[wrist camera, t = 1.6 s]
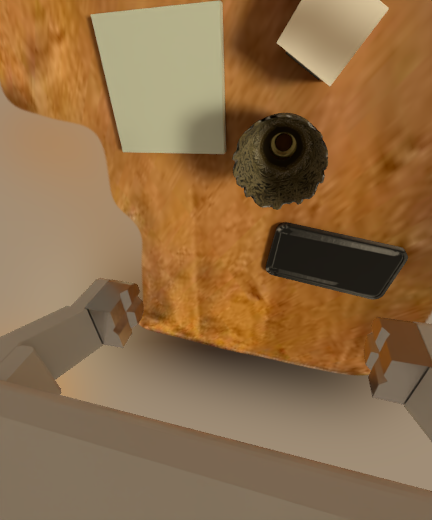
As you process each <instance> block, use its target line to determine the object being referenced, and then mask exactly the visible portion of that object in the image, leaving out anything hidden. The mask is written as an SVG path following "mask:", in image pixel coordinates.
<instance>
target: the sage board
mask: <svg viewBox="0 0 432 520" xmlns="http://www.w3.org/2000/svg"><path fill="white" fill-rule="evenodd" d="M91 18H92V23H93V27H94V31H95V35H96V40H97V44H98V48H99V52H100V57H101V61H102V65H103V69H104V74H105V78H106V82H107V86H108V91H109V95H110V99H111V103H112V108H113V112H114V116H115V120H116V125H117V129H118V133H119V137H120V142H121V146H122V150H123V152H144V153H192V154H225V153H226V123H225V84H224V46H223V7H222V2H221V1H211V2H202V3H193V4H183V5H174V6H165V7H155V8H146V9H137V10H128V11H118V12H109V13H100V14H91Z"/></svg>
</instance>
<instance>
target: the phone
mask: <svg viewBox="0 0 432 520" xmlns="http://www.w3.org/2000/svg"><path fill="white" fill-rule="evenodd" d="M407 259H408V256H407V254H406V252H405V250H404V249H403V248H401V247H397V246H393V245H388V244H384V243H379V242H374V241H370V240H365V239H361V238H356V237H352V236H347V235H343V234H338V233H333V232H329V231H324V230H320V229H315V228H311V227H306V226H301V225H297V224H292V223H287V222H285V223H281V224H279V225H278V227H277V229H276V232H275V236H274V239H273V243H272V246H271V250H270V253H269V257H268V260H267V264H266V271H267V272H268V273H269V274H271V275H274V276H278V277H282V278H286V279H291V280H295V281H299V282H303V283H307V284H311V285H315V286H319V287H323V288H327V289H332V290H336V291H340V292H344V293H348V294H352V295H356V296H360V297H364V298H368V299H378V298H380V297H382V296H383V295H384V294H385V292H386V291H387V289H388V288H389V286H390V285H391V283H392V282H393V280H394V279H395V277H396V276H397V274H398V273H399V272H400V270H401V269H402V267H403V266H404V264H405V263H406V261H407Z"/></svg>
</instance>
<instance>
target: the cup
mask: <svg viewBox="0 0 432 520" xmlns="http://www.w3.org/2000/svg"><path fill="white" fill-rule="evenodd" d="M281 134H287V135H289V136H290V137H291V139H292V145H291V147H290V148H289V149H288V150H286V151H281V150H279V149H278V148H277V147H276V139H277V137H278V136H279V135H281ZM322 137H323V136H322V134H321V133H320V132H319V131H318V130H317V129H316V128H315V127H314V126H313V125H312V124H311V123H310V122H309V121H307V120H306V119H305V118H303V117H301V116H299V115H296V114H292V113H278V114H274V115H271V116H268V117H266V118H264V119H262V120H259V121H257V122H256V123H254V124H253V125H252V126H251V127H250V128H249V129H248V130H247V131H245V132H244V133H243V135H242V136H241V137H240V139H239V141H238V144H237V150H236V152H235V153H234V154H233V158H232V160H234V161H235V160H236V162H235V164H234V167H233V175H234V177H236V180H237V185H239V186H241V188H243V187H244V193H245V196H246V197H250V196H251V197H252V198H253V199H254V202H255V203H256V204H258V205H259V206H260V207H273V209H276V210H279V209H280V208H281V206H282V205H283V204H286V203H287V204H290V203H292V202H295V203H297V204H301V203H302V201H303V199H310V198H312V197H313V195H314V194H315V192H316V189H317V186H318V184H319V183H323V181H324V176H325V175H324V170H326V167H327V166H328V157H327V156H328V150H327V147H326V145H325V143H324V141H323V139H322Z"/></svg>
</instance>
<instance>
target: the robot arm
mask: <svg viewBox="0 0 432 520" xmlns="http://www.w3.org/2000/svg"><path fill="white" fill-rule="evenodd" d="M139 292H140V290H139V287H138V285H137V284H135V283H129V282H123V281H117V280H109V279H103V278H99V279H97V280H95V281H94V282H93V284H92V285H91V286H90V287H89V288H88V289H87V290H86V291H85V292H84V293H83V294H82V295H81V296H80V297H79V298H78V299H77V300H76V302H75V303H74V304H73V305H72V306H66V307H64V308H62V309H60V310H57V311H55V312H53V313H51V314H49V315H47V316H44V317H42V318H40V319H38V320H36V321H34V322H32V323H30V324H27V325H25V326H23V327H21V328H19V329H16V330H14V331H12V332H10V333H8V334H6V335H4V336H1V337H0V520H432V491H430V490H426V489H422V488H418V487H414V486H410V485H406V484H402V483H398V482H395V481H391V480H387V479H383V478H379V477H375V476H372V475H368V474H363V473H360V472H356V471H352V470H348V469H344V468H341V467H337V466H332V465H328V464H325V463H321V462H317V461H314V460H309V459H306V458H302V457H298V456H294V455H290V454H286V453H282V452H278V451H275V450H271V449H267V448H263V447H259V446H256V445H252V444H247V443H244V442H240V441H236V440H232V439H228V438H225V437H221V436H217V435H213V434H209V433H205V432H201V431H198V430H194V429H190V428H186V427H182V426H178V425H174V424H170V423H166V422H163V421H159V420H155V419H151V418H147V417H143V416H139V415H136V414H132V413H128V412H124V411H120V410H116V409H112V408H108V407H104V406H101V405H97V404H93V403H89V402H85V401H81V400H77V399H73V398H69V397H66V396H61V395H60V394H61V388H60V387H59V386H58V384H57V383H56V381H55V379H57V378H58V377H60V376H61V375H62V374H64V373H65V372H66V371H68V370H69V369H71V368H72V367H73V366H75V365H76V364H78V363H79V362H80V361H82V360H83V359H84V358H86V357H87V356H89V355H90V354H91V353H93V352H94V351H96V350H97V349H98V348H100V347H101V346H102V344H104V345H110V346H116V347H122V348H123V347H124V346H125V344H126V343H127V341H128V339H129V337H130V336H131V335H132V329H131V328H132V327H134V326H136V325H137V324H138V323H139V322H140V320H141V318H142V315H143V311H144V310H143V301H142V300H141V299H140V298H139V297H138V294H139ZM371 326H372V331H373V332H372V333H370V334H368V335H367V337H366V340H365V345H364V359H365V364H366V365H367V366H368V368H369V369H370V370H371V372H370V374H369V377H368V379H369V384H370V388H371V393H372V397H373V398H376V399H381V400H386V401H390V402H394V403H399V404H403V405H404V407H405V408H406V409H407V411H408V412H409V413H410V414H411V416H412V417H413V418H414V420H415V421H416V422H417V423H418V425H419V426H420V427H421V429H422V430H423V431H424V432H425V434H426V435H427V436H428V437H429V439H430V440H431V441H432V324H427V323H419V322H411V321H403V320H395V319H388V318H380V317H376V318H375V319H374V320H373V322H372V325H371Z"/></svg>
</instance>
